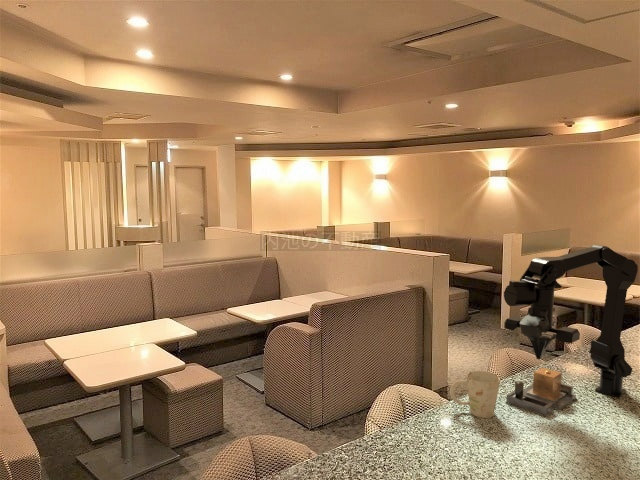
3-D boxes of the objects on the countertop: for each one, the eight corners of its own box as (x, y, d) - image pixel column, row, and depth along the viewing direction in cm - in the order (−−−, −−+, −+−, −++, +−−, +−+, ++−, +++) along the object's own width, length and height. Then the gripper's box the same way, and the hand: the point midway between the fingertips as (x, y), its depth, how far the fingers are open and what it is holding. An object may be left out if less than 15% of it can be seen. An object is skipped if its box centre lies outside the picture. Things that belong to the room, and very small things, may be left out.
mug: (500, 421, 127) (502, 384, 126) (450, 417, 130) (451, 380, 129) (496, 407, 135) (497, 372, 134) (448, 403, 138) (449, 368, 137)
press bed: (534, 385, 150) (534, 375, 150) (575, 398, 141) (576, 387, 141) (517, 396, 143) (517, 385, 142) (560, 410, 134) (560, 398, 134)
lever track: (513, 398, 141) (513, 390, 141) (552, 411, 133) (553, 403, 133) (506, 402, 138) (506, 394, 138) (546, 416, 130) (546, 408, 130)
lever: (515, 397, 140) (516, 380, 139) (525, 400, 138) (526, 383, 137) (511, 399, 138) (512, 382, 138) (521, 402, 136) (522, 385, 136)
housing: (532, 392, 142) (533, 370, 141) (541, 387, 146) (542, 366, 145) (552, 398, 138) (553, 376, 137) (560, 393, 142) (561, 371, 141)
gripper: (495, 302, 138) (493, 357, 140) (565, 315, 125) (561, 375, 127) (514, 296, 146) (512, 348, 148) (582, 308, 132) (578, 365, 134)
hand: (538, 358), depth 139 cm, fingers closed
